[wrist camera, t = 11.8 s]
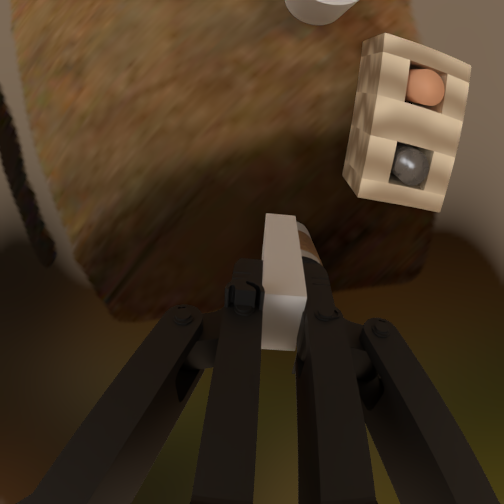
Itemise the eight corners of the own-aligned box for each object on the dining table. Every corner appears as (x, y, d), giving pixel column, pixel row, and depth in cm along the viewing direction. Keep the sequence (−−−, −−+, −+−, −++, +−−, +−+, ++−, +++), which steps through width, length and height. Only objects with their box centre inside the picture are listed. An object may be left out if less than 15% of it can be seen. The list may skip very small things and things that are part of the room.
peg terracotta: (387, 66, 34) (414, 64, 26) (415, 74, 34) (446, 75, 26) (383, 95, 36) (409, 99, 29) (411, 103, 36) (441, 110, 29)
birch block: (362, 41, 33) (384, 32, 25) (438, 65, 33) (471, 65, 25) (342, 175, 43) (357, 197, 35) (414, 188, 43) (439, 212, 35)
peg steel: (377, 133, 39) (401, 146, 31) (404, 139, 39) (432, 154, 31) (371, 162, 41) (393, 181, 34) (398, 168, 41) (423, 188, 34)
